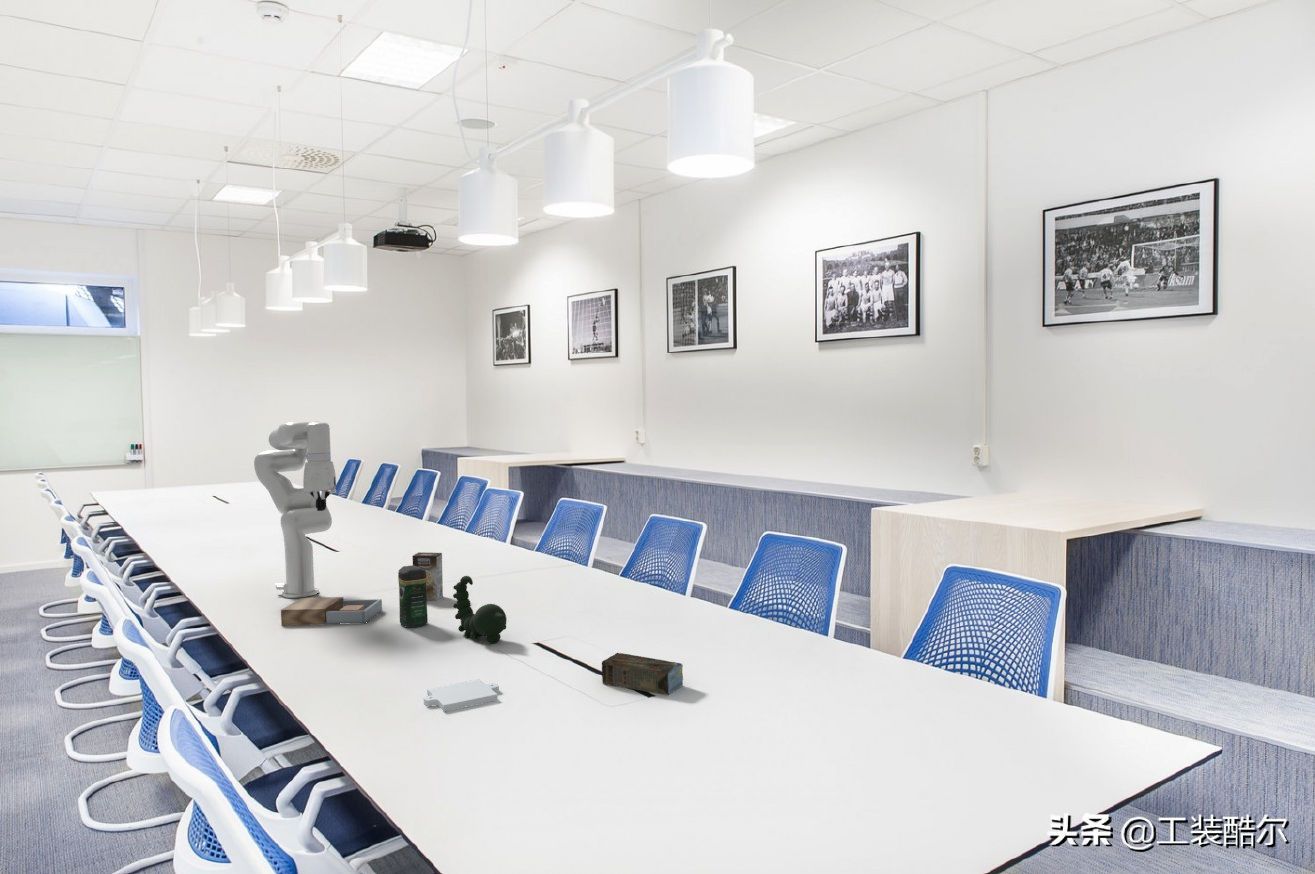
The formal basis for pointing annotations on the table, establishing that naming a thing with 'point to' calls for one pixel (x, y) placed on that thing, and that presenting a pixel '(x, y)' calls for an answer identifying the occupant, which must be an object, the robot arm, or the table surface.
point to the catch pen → (355, 612)
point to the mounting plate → (461, 694)
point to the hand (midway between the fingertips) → (321, 510)
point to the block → (353, 608)
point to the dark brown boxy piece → (642, 673)
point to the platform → (310, 610)
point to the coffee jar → (412, 596)
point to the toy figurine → (478, 615)
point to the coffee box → (431, 573)
